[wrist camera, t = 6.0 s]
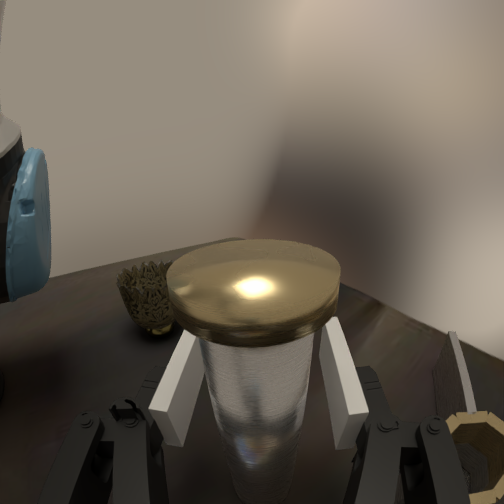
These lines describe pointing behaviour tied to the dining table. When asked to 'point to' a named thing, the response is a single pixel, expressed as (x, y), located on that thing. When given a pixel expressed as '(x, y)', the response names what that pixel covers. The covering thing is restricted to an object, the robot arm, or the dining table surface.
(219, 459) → the dining table surface
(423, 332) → the dining table surface
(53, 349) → the dining table surface
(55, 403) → the dining table surface
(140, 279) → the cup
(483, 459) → the ring holder
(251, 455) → the hinge pin
